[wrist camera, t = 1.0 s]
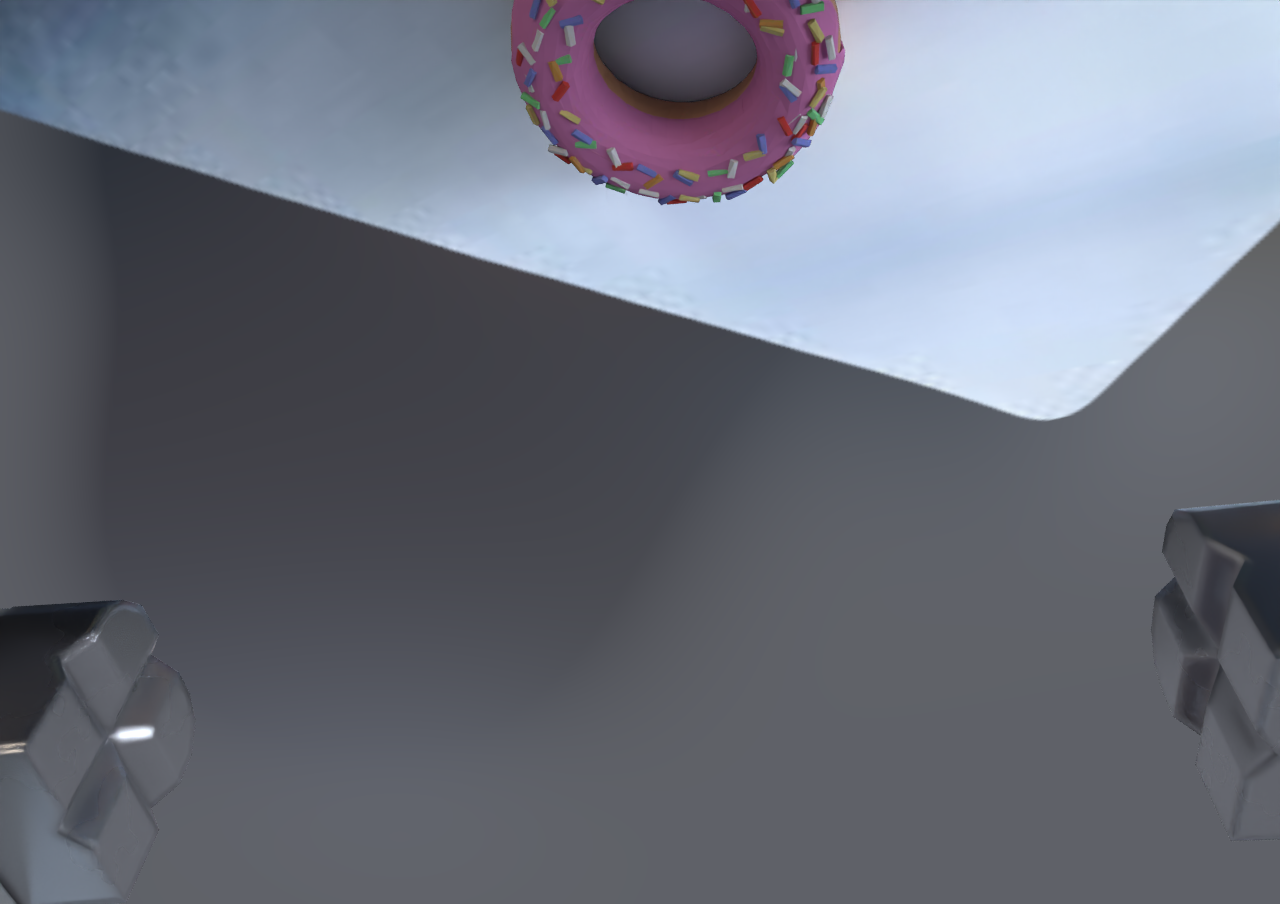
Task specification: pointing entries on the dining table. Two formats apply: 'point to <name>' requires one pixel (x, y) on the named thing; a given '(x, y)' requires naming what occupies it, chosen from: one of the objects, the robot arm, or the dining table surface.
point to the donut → (678, 131)
